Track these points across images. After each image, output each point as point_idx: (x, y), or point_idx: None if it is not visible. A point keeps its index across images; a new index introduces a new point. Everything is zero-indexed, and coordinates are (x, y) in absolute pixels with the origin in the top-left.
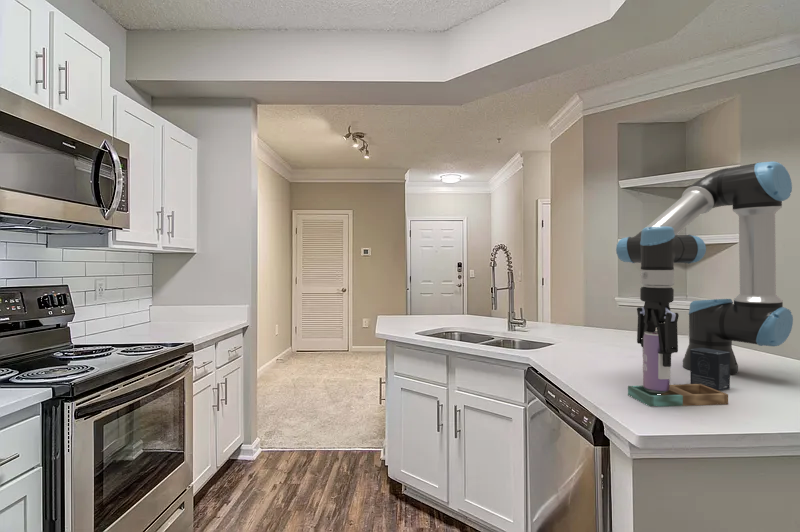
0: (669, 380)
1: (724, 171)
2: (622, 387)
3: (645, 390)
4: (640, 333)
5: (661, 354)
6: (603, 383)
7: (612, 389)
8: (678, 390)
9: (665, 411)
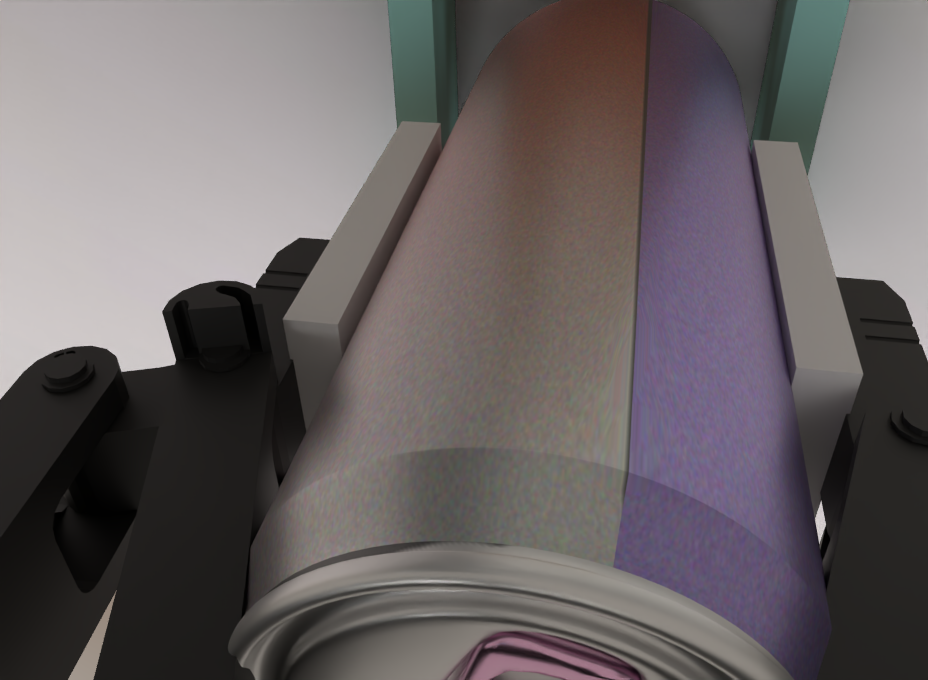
0: (712, 73)
1: None
2: (184, 131)
3: (447, 109)
4: (76, 647)
5: (813, 495)
6: (78, 219)
7: (259, 249)
8: None
9: (920, 205)
